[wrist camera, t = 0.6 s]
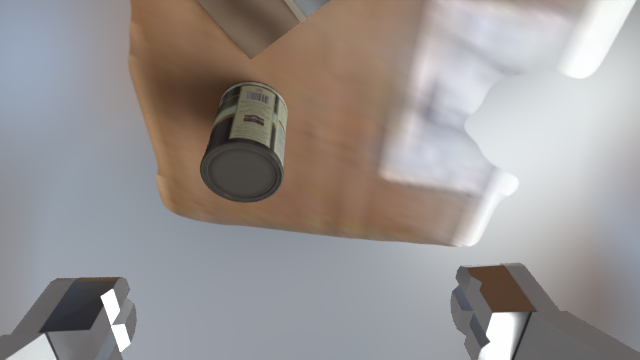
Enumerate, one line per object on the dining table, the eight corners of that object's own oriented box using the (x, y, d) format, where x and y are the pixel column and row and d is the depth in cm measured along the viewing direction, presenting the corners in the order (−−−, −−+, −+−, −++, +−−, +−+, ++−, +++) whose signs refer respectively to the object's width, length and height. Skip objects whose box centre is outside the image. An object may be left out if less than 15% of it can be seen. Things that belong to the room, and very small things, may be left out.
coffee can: (230, 142, 63) (215, 207, 53) (209, 85, 56) (187, 148, 46) (293, 134, 62) (290, 199, 52) (280, 76, 55) (273, 138, 45)
